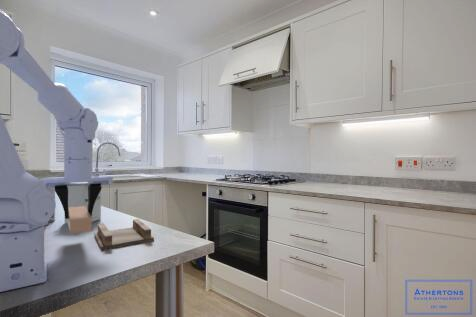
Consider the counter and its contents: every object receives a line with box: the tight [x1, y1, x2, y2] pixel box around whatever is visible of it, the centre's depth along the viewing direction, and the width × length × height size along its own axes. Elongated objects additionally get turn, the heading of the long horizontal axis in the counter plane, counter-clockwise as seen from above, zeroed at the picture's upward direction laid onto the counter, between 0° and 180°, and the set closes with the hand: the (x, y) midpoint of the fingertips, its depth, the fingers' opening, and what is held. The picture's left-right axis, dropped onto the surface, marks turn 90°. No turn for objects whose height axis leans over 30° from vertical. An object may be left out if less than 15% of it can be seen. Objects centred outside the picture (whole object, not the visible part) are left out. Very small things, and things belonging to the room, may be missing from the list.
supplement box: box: [64, 182, 102, 224], centre depth 84 cm, size 7×7×13 cm
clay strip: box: [67, 206, 93, 235], centre depth 63 cm, size 14×4×3 cm, turn 35°
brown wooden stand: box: [93, 218, 155, 251], centre depth 69 cm, size 12×12×3 cm
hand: (78, 216), depth 63 cm, fingers closed on clay strip, 4 cm apart
